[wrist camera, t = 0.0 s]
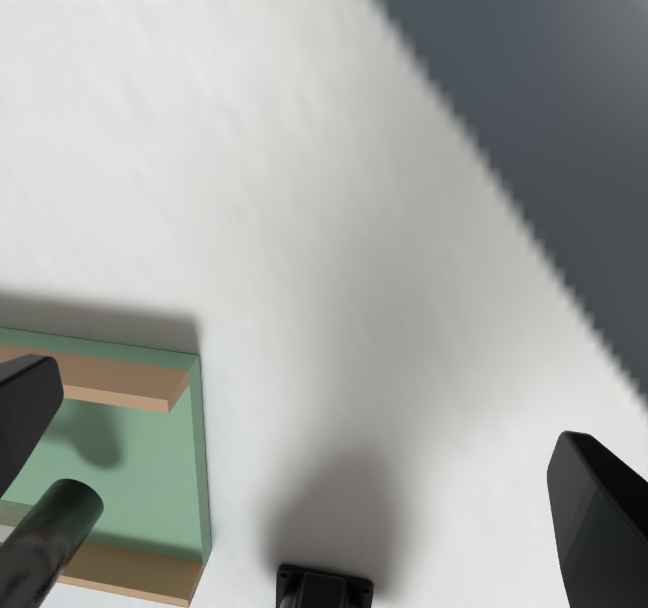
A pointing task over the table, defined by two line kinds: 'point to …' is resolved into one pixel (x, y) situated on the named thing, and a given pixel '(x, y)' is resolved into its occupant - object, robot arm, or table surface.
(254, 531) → the table surface
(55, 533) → the rod
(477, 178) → the table surface
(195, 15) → the table surface
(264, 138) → the table surface
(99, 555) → the pitch
